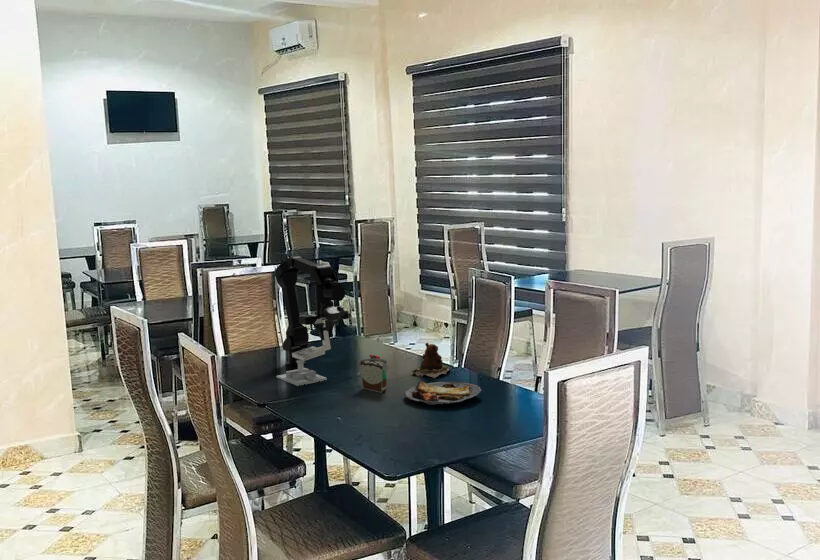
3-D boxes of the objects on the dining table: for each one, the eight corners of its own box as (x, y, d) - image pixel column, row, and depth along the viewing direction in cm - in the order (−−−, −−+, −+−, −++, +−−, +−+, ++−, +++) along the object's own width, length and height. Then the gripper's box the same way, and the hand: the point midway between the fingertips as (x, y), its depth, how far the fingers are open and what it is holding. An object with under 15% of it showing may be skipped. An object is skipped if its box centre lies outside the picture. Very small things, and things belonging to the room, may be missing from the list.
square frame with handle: (323, 346, 302) (320, 329, 300) (335, 350, 295) (332, 332, 293) (292, 356, 294) (289, 338, 293) (304, 360, 287) (300, 342, 286)
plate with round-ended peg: (276, 378, 294) (275, 360, 293) (304, 372, 301) (303, 354, 300) (297, 386, 281) (296, 367, 280) (326, 380, 288) (325, 361, 288)
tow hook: (389, 370, 298) (380, 356, 295) (371, 389, 293) (362, 374, 290) (378, 367, 303) (369, 353, 300) (361, 386, 298) (351, 371, 295)
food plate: (394, 405, 255) (393, 394, 254) (418, 386, 276) (418, 376, 276) (469, 410, 246) (469, 399, 246) (488, 390, 268) (487, 380, 267)
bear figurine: (457, 370, 298) (456, 338, 296) (436, 379, 285) (435, 346, 284) (427, 366, 305) (426, 335, 304) (405, 375, 293) (404, 342, 291)
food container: (397, 389, 272) (396, 361, 271) (384, 393, 268) (383, 364, 267) (372, 384, 281) (371, 356, 280) (359, 387, 276) (358, 359, 275)
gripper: (311, 304, 283) (314, 347, 285) (356, 297, 294) (358, 339, 296) (297, 300, 292) (299, 342, 294) (340, 295, 303) (342, 335, 305)
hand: (325, 339), depth 297 cm, fingers closed on square frame with handle, 2 cm apart
